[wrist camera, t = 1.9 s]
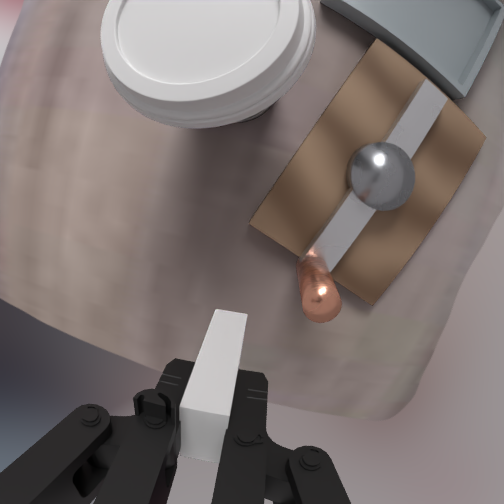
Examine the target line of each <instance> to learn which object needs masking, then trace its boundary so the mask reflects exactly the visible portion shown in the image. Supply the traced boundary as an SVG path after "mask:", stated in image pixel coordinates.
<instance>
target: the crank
mask: <svg viewBox="0 0 504 504" xmlns="http://www.w3.org/2000/svg"><path fill="white" fill-rule="evenodd" d="M447 100H448V98H447V97H446V96H445V95H444V94H443V93H442V92H440V91H439V90H438V89H437V88H436V87H435V86H434V85H433V84H432V83H431V82H429V81H428V80H427V79H424V80H422V81H420V82H419V84H418V85H417V87H416V89H415V90H414V92H413V93H412V95H411V96H410V98H409V99H408V101H407V103H406V104H405V106H404V107H403V109H402V110H401V112H400V113H399V115H398V116H397V118H396V120H395V121H394V123H393V124H392V126H391V127H390V129H389V130H388V132H387V133H386V135H385V136H384V138H383V139H382V141H381V142H377V143H369V144H365V145H363V146H361V147H359V148H358V149H357V150H356V151H355V152H354V153H353V154H352V155H351V157H350V159H349V161H348V164H347V168H346V179H347V184H348V186H349V189H348V190H347V192H346V193H345V195H344V196H343V198H342V199H341V200H340V202H339V203H338V205H337V206H336V208H335V209H334V210H333V212H332V213H331V215H330V216H329V217H328V219H327V220H326V222H325V223H324V224H323V226H322V227H321V229H320V230H319V231H318V233H317V234H316V236H315V237H314V238H313V240H312V241H311V242H310V244H309V245H308V247H307V248H306V249H305V251H304V252H303V253H302V255H301V256H300V257H299V259H298V261H297V264H296V269H297V275H298V281H299V288H300V294H301V301H302V307H303V312H304V314H305V316H306V317H307V318H308V319H310V320H311V321H314V322H317V323H324V322H328V321H330V320H332V319H334V318H335V317H336V316H337V315H338V313H339V312H340V310H341V306H342V301H341V298H340V295H339V293H338V290H337V288H336V285H335V283H334V281H333V278H332V276H331V274H330V272H331V271H332V269H333V268H334V267H335V266H336V264H337V263H338V262H339V260H340V259H341V258H342V256H343V255H344V254H345V252H346V251H347V250H348V248H349V247H350V246H351V244H352V243H353V242H354V240H355V239H356V237H357V236H358V235H359V233H360V232H361V231H362V229H363V228H364V226H365V225H366V224H367V222H368V221H369V219H370V218H371V217H372V215H373V214H374V212H375V211H376V210H380V211H388V210H393V209H396V208H398V207H400V206H401V205H402V204H404V203H405V202H406V201H407V200H408V198H409V197H410V195H411V193H412V191H413V188H414V185H415V170H414V166H413V163H412V161H411V158H412V156H413V155H414V153H415V152H416V150H417V149H418V147H419V145H420V144H421V142H422V141H423V139H424V138H425V136H426V134H427V133H428V131H429V129H430V128H431V126H432V125H433V123H434V121H435V120H436V118H437V116H438V115H439V113H440V111H441V110H442V108H443V106H444V105H445V103H446V101H447Z"/></svg>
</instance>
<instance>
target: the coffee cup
mask: <svg viewBox="0 0 504 504" xmlns="http://www.w3.org/2000/svg"><path fill="white" fill-rule="evenodd" d="M315 39H316V19H315V14H314V10H313V7H312V4H311V1H310V0H110V1H109V3H108V5H107V7H106V10H105V13H104V16H103V20H102V25H101V47H102V52H103V59H104V63H105V67H106V70H107V73H108V75H109V78H110V80H111V82H112V84H113V85H114V87H115V89H116V90H117V91H118V93H119V94H120V95H121V96H122V98H123V99H124V100H125V101H126V102H127V103H128V104H129V105H130V106H131V107H133V108H134V109H135V110H136V111H138V112H139V113H141V114H142V115H144V116H146V117H148V118H150V119H152V120H154V121H157V122H159V123H162V124H166V125H170V126H174V127H181V128H211V127H218V126H223V125H227V124H231V123H235V122H245V121H249V120H252V119H255V118H257V117H259V116H260V115H262V114H263V113H265V112H266V111H267V110H268V109H269V108H270V106H271V105H272V104H273V103H274V102H276V101H277V100H278V99H280V98H281V97H282V96H283V95H284V94H285V93H286V92H287V91H288V90H289V89H290V88H291V87H292V86H293V85H294V84H295V83H296V81H297V80H298V79H299V78H300V76H301V75H302V73H303V72H304V70H305V68H306V66H307V64H308V62H309V60H310V58H311V55H312V52H313V49H314V44H315Z"/></svg>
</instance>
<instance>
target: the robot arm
mask: <svg viewBox="0 0 504 504" xmlns="http://www.w3.org/2000/svg"><path fill="white" fill-rule="evenodd" d="M246 320H247V314H244V313H238V312H231V311H225V310H219V309H215V312H214V315H213V317H212V320H211V323H210V325H209V328H208V331H207V333H206V336H205V339H204V341H203V344H202V347H201V349H200V352H199V355H198V357H197V360H196V362H191V361H186V360H181V359H176V358H175V359H174V360H172V361H171V362H170V363H168V364H167V365H166V367H165V369H164V371H163V374H162V376H161V377H160V380H159V382H158V384H157V386H156V388H155V389H147V390H143V391H141V392H139V393H137V394H136V395H135V397H134V398H133V401H134V408H135V415H132V416H110V415H109V413H108V411H107V410H106V409H104V408H103V407H101V406H98V405H95V404H86V405H81V406H80V407H78V408H76V409H75V410H74V411H73V412H71V413H70V414H69V415H68V416H67V417H66V418H64V419H63V420H62V421H61V422H60V423H59V424H57V425H56V426H55V427H54V428H53V429H52V430H50V431H49V432H48V433H47V434H46V435H44V436H43V437H42V438H41V439H40V440H39V441H37V442H36V443H35V444H34V445H33V446H32V447H30V448H29V449H28V450H27V451H26V452H25V453H24V454H22V455H21V456H20V457H19V458H17V459H16V460H15V461H14V462H13V463H12V464H10V465H9V466H8V467H7V468H6V469H4V470H3V471H2V472H1V473H0V504H90V503H91V502H92V501H93V500H94V499H95V497H96V496H97V497H96V499H95V501H94V503H93V504H166V503H167V500H168V496H169V493H170V489H171V486H172V483H173V480H174V476H175V473H176V469H177V458H178V455H179V451H180V456H184V457H188V458H193V459H198V460H203V461H208V462H214V463H219V467H218V472H217V478H216V483H215V488H214V493H213V499H212V503H211V504H264V498H265V499H268V500H271V501H273V504H351V502H350V500H349V498H348V496H347V493H346V491H345V489H344V487H343V485H342V483H341V480H340V478H339V476H338V473H337V471H336V469H335V467H334V464H333V462H332V460H331V458H330V457H329V455H328V454H327V453H326V452H325V451H323V450H322V449H320V448H317V447H314V446H302V447H299V448H297V449H295V450H294V451H293V450H290V449H287V448H284V447H282V446H280V445H278V444H276V443H275V442H273V441H272V440H271V439H270V437H269V436H268V434H267V432H266V416H267V395H268V393H267V392H268V381H267V379H266V377H265V375H264V374H263V373H260V372H253V371H246V370H240V369H239V365H240V359H241V353H242V346H243V340H244V333H245V327H246Z"/></svg>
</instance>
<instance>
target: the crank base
mask: <svg viewBox="0 0 504 504" xmlns="http://www.w3.org/2000/svg"><path fill="white" fill-rule="evenodd" d="M424 79H427V80H428V81H429V82H431V81H430V80H429V79H428V78H427V77H426V76H425V75H423V74H422V73H421V72H420V71H419V70H418V69H416V68H415V67H414V66H413V65H412V64H410V63H409V62H408V61H407V60H405V59H404V58H403V57H402V56H400V55H399V54H398V53H397V52H395V51H394V50H393V49H391V48H390V47H389V46H387V45H386V44H385V43H383V42H382V41H380V40H379V39H378V38H377V39H376V40H375V41H374V42H373V43H372V44H371V46H370V47H369V48H368V50H367V51H366V53H365V54H364V55H363V57H362V58H361V60H360V61H359V63H358V64H357V65H356V67H355V68H354V70H353V71H352V72H351V74H350V75H349V77H348V78H347V79H346V81H345V82H344V84H343V85H342V87H341V88H340V89H339V91H338V92H337V94H336V95H335V97H334V98H333V99H332V101H331V102H330V104H329V105H328V107H327V108H326V109H325V111H324V112H323V114H322V115H321V117H320V118H319V120H318V121H317V122H316V124H315V125H314V127H313V128H312V130H311V131H310V133H309V134H308V135H307V137H306V138H305V140H304V141H303V143H302V144H301V146H300V147H299V149H298V150H297V151H296V153H295V154H294V156H293V157H292V159H291V160H290V162H289V163H288V165H287V166H286V168H285V169H284V171H283V172H282V173H281V175H280V176H279V178H278V179H277V181H276V182H275V184H274V185H273V187H272V188H271V190H270V191H269V193H268V194H267V196H266V197H265V199H264V200H263V202H262V203H261V205H260V206H259V208H258V209H257V211H256V212H255V214H254V215H253V217H252V218H251V220H250V222H249V224H250V225H251V226H253V227H255V228H256V229H258V230H259V231H261V232H262V233H264V234H265V235H267V236H268V237H270V238H271V239H273V240H274V241H276V242H277V243H279V244H281V245H282V246H284V247H285V248H287V249H288V250H290V251H291V252H293V253H294V254H296V255H297V256H299V257H300V256H301V255H302V253H303V252H304V251H305V249H306V248H307V247H308V245H309V244H310V242H311V241H312V240H313V238H314V237H315V236H316V234H317V233H318V231H319V230H320V229H321V227H322V226H323V224H324V223H325V222H326V220H327V219H328V217H329V216H330V215H331V213H332V212H333V210H334V209H335V208H336V206H337V205H338V203H339V202H340V200H341V199H342V198H343V196H344V195H345V193H346V192H347V190H348V189H349V186H348V184H347V179H346V168H347V164H348V161H349V159H350V157H351V155H352V154H353V153H354V152H355V151H356V150H357V149H358V148H359V147H361V146H363V145H365V144H369V143H377V142H381V141H382V139H383V138H384V136H385V135H386V133H387V132H388V130H389V129H390V127H391V126H392V124H393V123H394V121H395V120H396V118H397V116H398V115H399V113H400V112H401V110H402V109H403V107H404V106H405V104H406V103H407V101H408V99H409V98H410V96H411V95H412V93H413V92H414V90H415V89H416V87H417V85H418V84H419V82H420V81H422V80H424ZM431 83H432V84H433V85H434V86H435V87H436V88H437V89H438V90H439V91H440V92H442V91H441V90H440V89H439V88H438V87H437V86H436V85H435V84H434V83H433V82H431ZM442 93H443V92H442ZM443 94H444V93H443ZM444 95H445V94H444ZM445 96H446V97H447V98H448V100H447V101H446V103H445V105H444V106H443V108H442V110H441V111H440V113H439V115H438V116H437V118H436V120H435V121H434V123H433V125H432V126H431V128H430V129H429V131H428V133H427V134H426V136H425V138H424V139H423V141H422V142H421V144H420V145H419V147H418V149H417V150H416V152H415V153H414V155H413V156H412V158H411V161H412V163H413V166H414V170H415V185H414V188H413V191H412V193H411V195H410V197H409V198H408V200H407V201H406V202H405V203H404V204H402V205H401V206H400V207H398V208H396V209H393V210H388V211H380V210H376V211H375V212H374V214H373V215H372V217H371V218H370V219H369V221H368V222H367V224H366V225H365V226H364V228H363V229H362V231H361V232H360V233H359V235H358V236H357V237H356V239H355V240H354V242H353V243H352V244H351V246H350V247H349V248H348V250H347V251H346V252H345V254H344V255H343V256H342V258H341V259H340V260H339V262H338V263H337V264H336V266H335V267H334V268H333V269H332V271H331V272H330V274H331V276H332V278H333V280H335V281H336V282H338V283H339V284H341V285H342V286H344V287H345V288H347V289H348V290H350V291H351V292H352V293H354V294H355V295H357V296H358V297H360V298H361V299H363V300H364V301H366V302H367V303H369V304H370V305H372V306H373V305H374V303H375V302H376V301H377V300H378V299H379V297H380V296H381V295H382V294H383V292H384V291H385V290H386V289H387V287H388V286H389V285H390V284H391V282H392V281H393V280H394V279H395V277H396V276H397V275H398V273H399V272H400V271H401V269H402V268H403V267H404V265H405V264H406V263H407V261H408V260H409V259H410V257H411V256H412V255H413V253H414V252H415V251H416V249H417V248H418V246H419V245H420V244H421V242H422V241H423V239H424V238H425V237H426V235H427V234H428V232H429V231H430V229H431V228H432V227H433V225H434V224H435V222H436V221H437V219H438V218H439V216H440V215H441V213H442V212H443V210H444V209H445V207H446V206H447V204H448V202H449V201H450V199H451V198H452V196H453V195H454V193H455V191H456V190H457V188H458V187H459V185H460V183H461V182H462V180H463V178H464V177H465V175H466V173H467V172H468V170H469V168H470V166H471V165H472V163H473V161H474V159H475V158H476V156H477V154H478V152H479V151H480V149H481V147H482V145H483V143H484V141H485V139H486V136H485V135H484V134H483V133H482V132H481V131H480V130H479V128H478V127H477V126H476V125H475V124H474V123H473V122H472V121H471V120H470V119H469V118H468V117H467V116H466V114H465V113H464V112H463V111H462V110H461V109H460V108H459V107H458V106H457V105H456V104H455V103H454V102H453V101H452V100H451V99H450V98H449V97H448V96H447V95H445Z"/></svg>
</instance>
